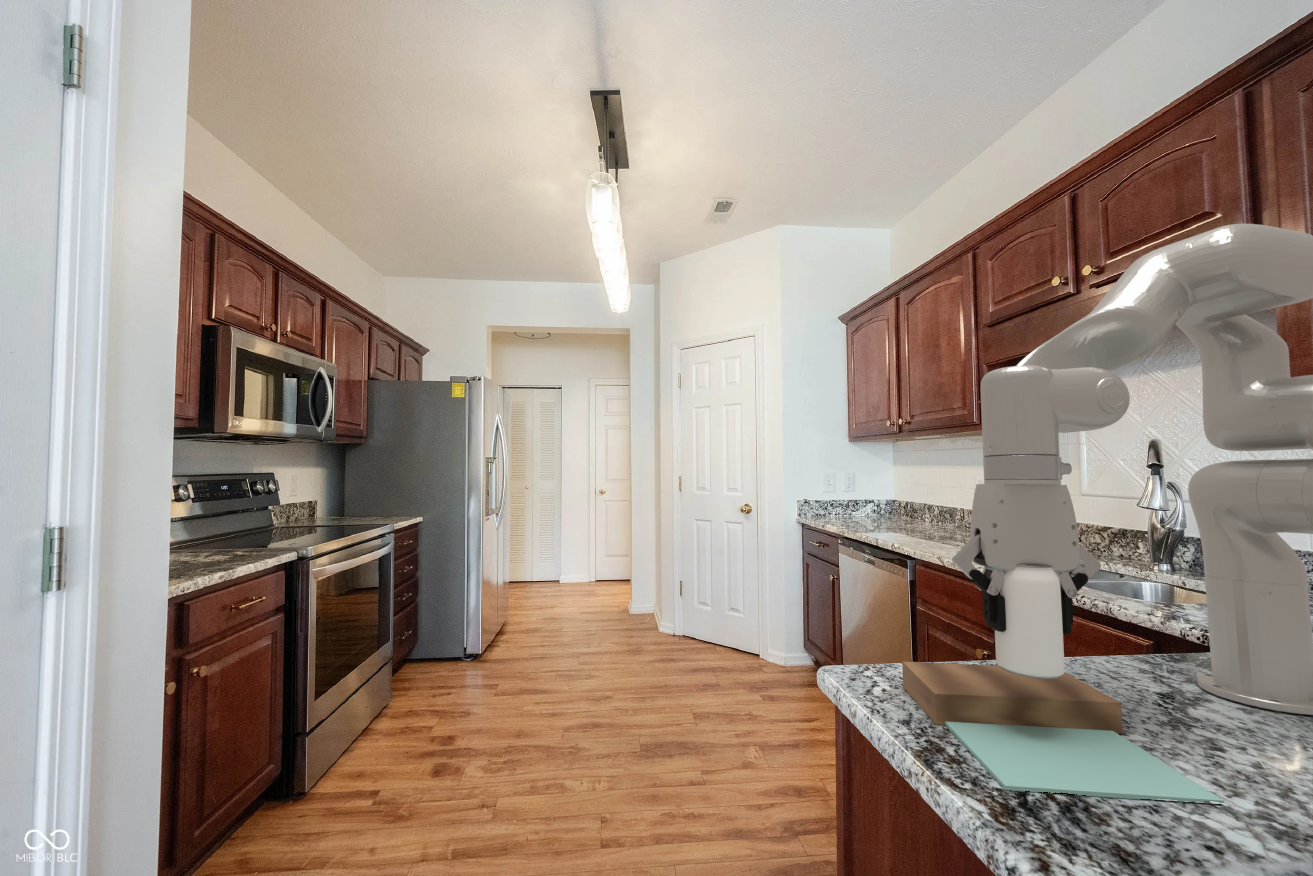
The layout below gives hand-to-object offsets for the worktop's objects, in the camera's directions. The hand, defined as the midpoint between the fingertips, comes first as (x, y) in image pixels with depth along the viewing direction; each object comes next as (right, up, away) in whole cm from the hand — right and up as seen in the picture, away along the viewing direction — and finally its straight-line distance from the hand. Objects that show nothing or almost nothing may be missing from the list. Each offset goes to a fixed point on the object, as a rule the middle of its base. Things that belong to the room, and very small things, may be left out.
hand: (1027, 628), depth 63 cm
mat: (-1, -11, -7) cm, 13 cm away
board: (+1, -12, +6) cm, 14 cm away
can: (0, -5, 0) cm, 5 cm away
